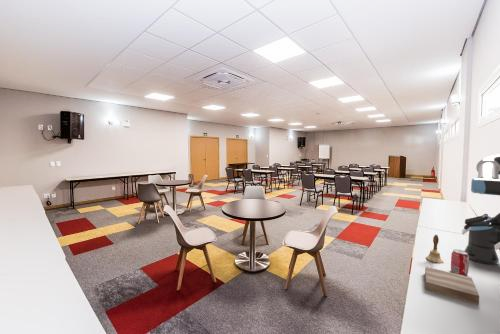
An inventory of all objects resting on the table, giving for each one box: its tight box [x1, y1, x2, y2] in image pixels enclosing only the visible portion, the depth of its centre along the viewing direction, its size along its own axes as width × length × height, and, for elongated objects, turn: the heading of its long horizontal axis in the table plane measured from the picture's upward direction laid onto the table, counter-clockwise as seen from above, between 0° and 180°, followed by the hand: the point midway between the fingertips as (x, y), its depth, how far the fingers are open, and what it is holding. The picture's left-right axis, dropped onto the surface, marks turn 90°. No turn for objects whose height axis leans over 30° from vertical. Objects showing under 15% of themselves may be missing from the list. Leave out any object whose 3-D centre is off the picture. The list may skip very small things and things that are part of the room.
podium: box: [424, 266, 480, 306], centre depth 109 cm, size 18×18×4 cm
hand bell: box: [425, 234, 444, 264], centre depth 137 cm, size 8×8×16 cm
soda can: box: [450, 249, 470, 276], centre depth 122 cm, size 7×7×12 cm
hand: (478, 239), depth 115 cm, fingers open, 13 cm apart
